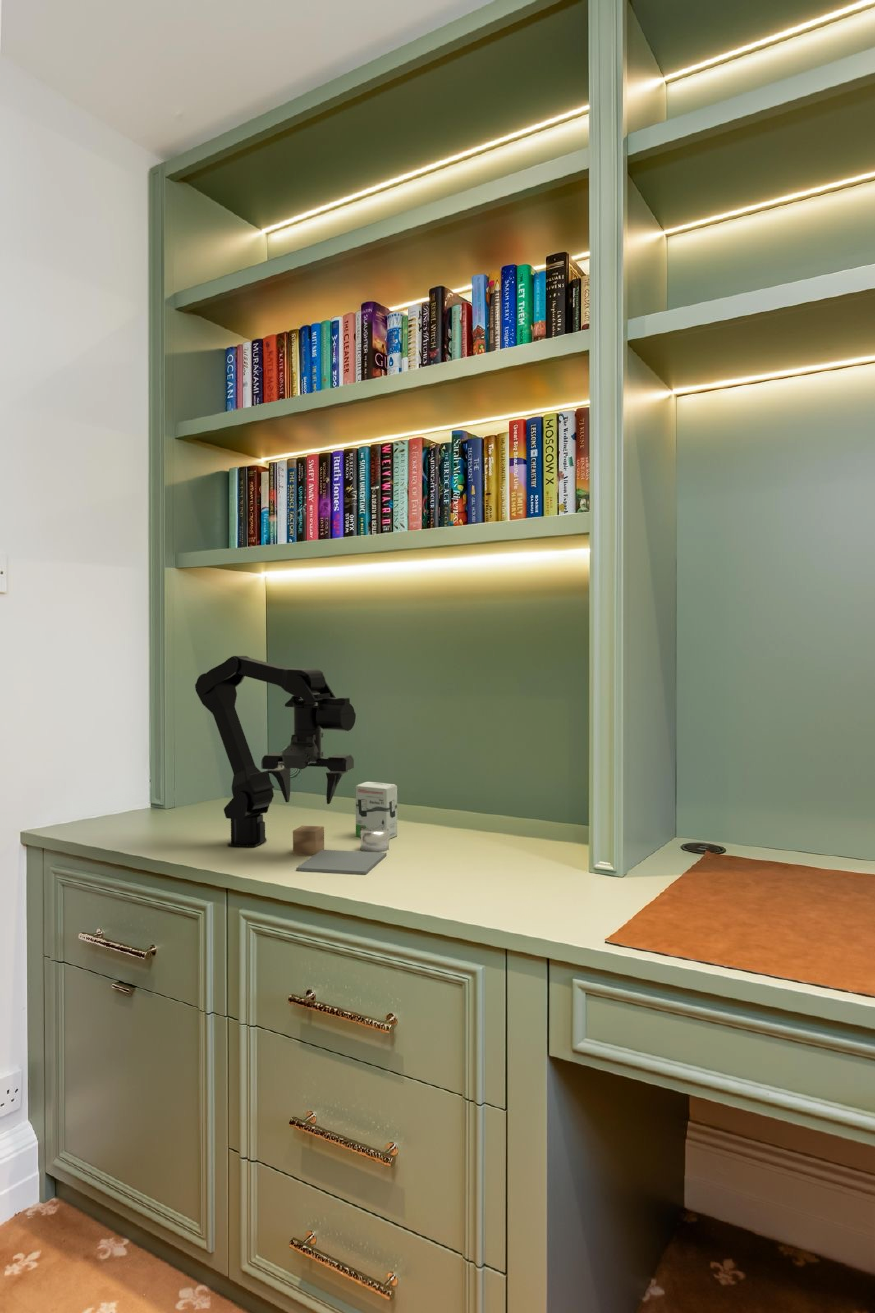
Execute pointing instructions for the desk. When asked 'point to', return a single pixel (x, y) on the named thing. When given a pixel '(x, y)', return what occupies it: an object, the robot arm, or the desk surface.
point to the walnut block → (308, 840)
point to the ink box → (376, 807)
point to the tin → (374, 839)
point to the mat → (342, 862)
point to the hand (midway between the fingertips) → (307, 802)
